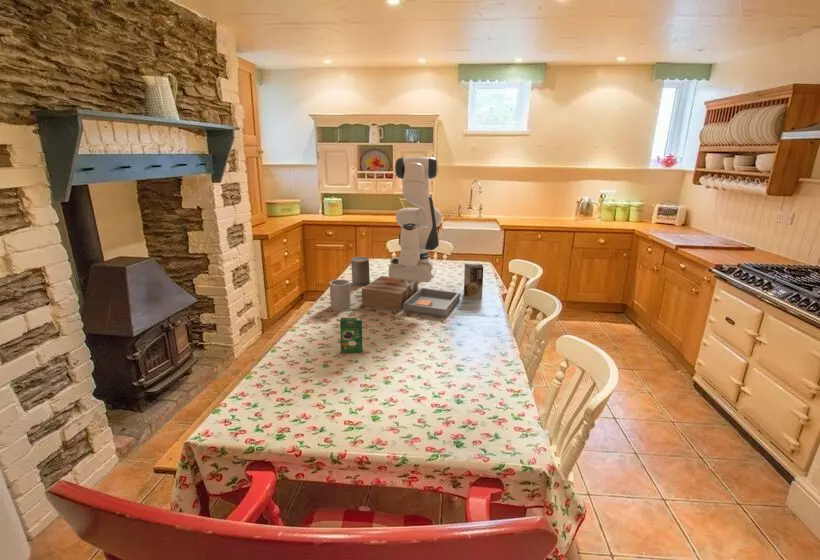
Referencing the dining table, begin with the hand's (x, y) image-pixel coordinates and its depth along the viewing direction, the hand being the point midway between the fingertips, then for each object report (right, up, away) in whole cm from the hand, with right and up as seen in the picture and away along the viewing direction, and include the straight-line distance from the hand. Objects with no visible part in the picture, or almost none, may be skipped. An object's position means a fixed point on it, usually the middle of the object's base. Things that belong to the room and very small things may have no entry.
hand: (409, 288), depth 196 cm
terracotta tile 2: (-7, +3, +13) cm, 16 cm away
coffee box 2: (+32, -4, +17) cm, 36 cm away
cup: (-32, -9, +3) cm, 34 cm away
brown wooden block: (-9, -6, +11) cm, 16 cm away
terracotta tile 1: (+7, -6, -1) cm, 9 cm away
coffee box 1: (-21, -22, -40) cm, 51 cm away
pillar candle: (-27, +2, +36) cm, 45 cm away
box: (+11, -8, +4) cm, 14 cm away
